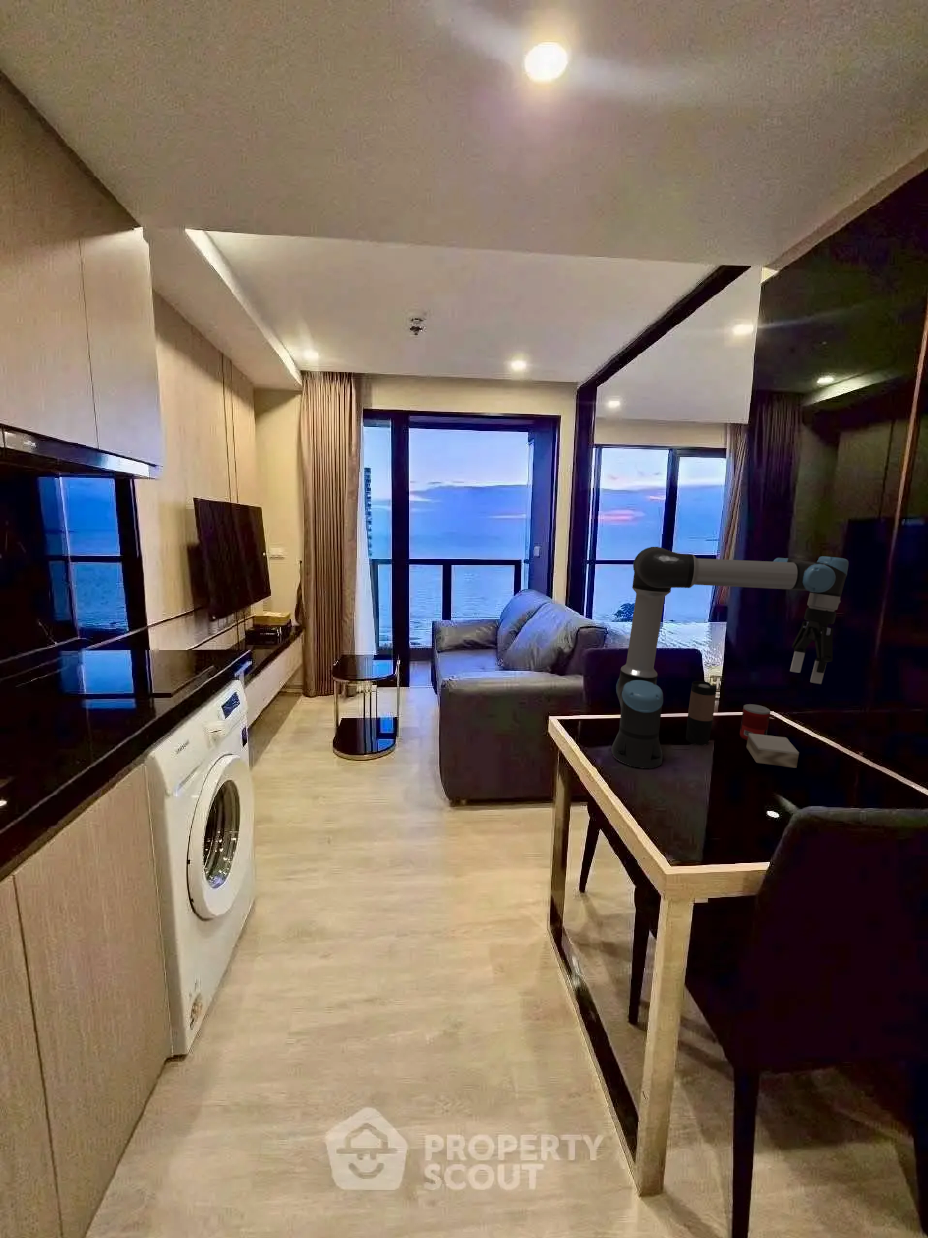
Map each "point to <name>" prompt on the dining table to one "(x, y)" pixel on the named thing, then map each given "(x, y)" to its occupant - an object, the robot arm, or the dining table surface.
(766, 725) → the canned food
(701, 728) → the travel mug
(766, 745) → the birch plinth
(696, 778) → the dining table surface
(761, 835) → the dining table surface
